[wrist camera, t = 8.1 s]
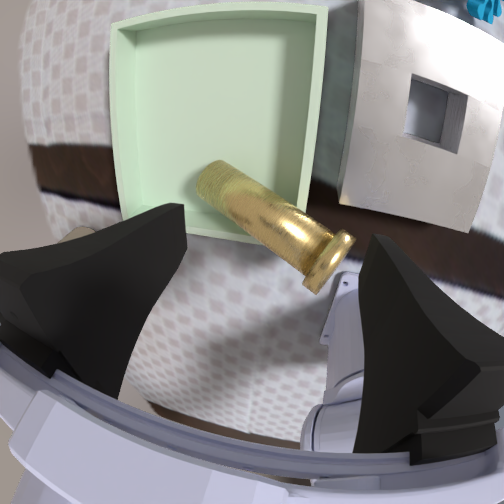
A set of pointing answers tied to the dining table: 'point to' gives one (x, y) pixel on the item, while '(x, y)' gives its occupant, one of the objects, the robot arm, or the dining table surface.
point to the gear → (484, 9)
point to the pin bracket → (395, 107)
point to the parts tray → (215, 104)
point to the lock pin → (275, 223)
